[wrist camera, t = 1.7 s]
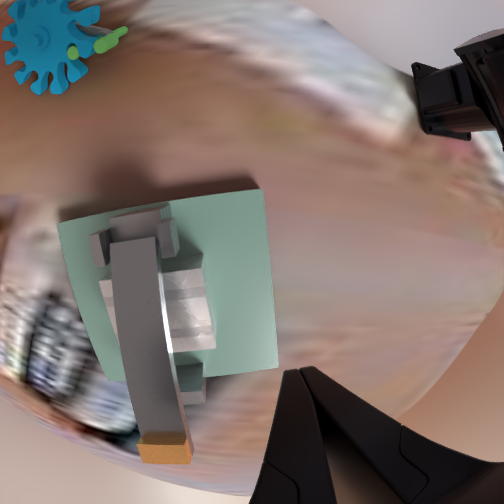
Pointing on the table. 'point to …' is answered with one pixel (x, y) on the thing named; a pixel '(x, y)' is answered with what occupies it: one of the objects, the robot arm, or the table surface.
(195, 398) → the post
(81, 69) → the gear
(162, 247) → the post
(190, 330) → the heatsink
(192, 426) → the table surface
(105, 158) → the table surface
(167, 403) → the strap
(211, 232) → the board
